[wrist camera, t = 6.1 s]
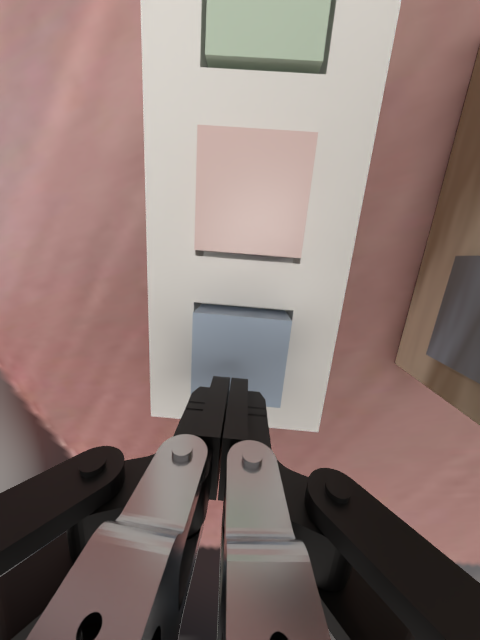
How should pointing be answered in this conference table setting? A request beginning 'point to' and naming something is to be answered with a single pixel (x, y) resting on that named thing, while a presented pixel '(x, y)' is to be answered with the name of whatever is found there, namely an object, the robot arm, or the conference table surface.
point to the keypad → (324, 201)
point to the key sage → (266, 34)
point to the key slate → (241, 348)
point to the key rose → (252, 190)
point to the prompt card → (451, 277)
